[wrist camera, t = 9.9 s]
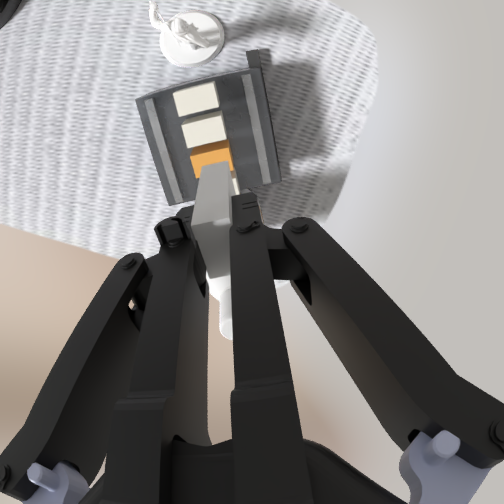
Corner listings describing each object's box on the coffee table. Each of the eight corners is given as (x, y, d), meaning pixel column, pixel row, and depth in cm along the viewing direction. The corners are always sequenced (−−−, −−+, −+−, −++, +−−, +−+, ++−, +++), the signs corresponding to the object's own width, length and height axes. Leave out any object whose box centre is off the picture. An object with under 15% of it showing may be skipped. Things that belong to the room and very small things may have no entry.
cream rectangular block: (178, 90, 25) (172, 93, 23) (214, 80, 25) (213, 82, 23) (183, 111, 26) (178, 116, 24) (219, 102, 26) (218, 107, 24)
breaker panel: (149, 92, 30) (133, 100, 25) (254, 67, 29) (260, 68, 24) (177, 184, 37) (168, 208, 32) (272, 163, 36) (281, 184, 31)
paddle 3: (193, 147, 29) (189, 156, 26) (228, 139, 28) (228, 147, 26) (198, 167, 30) (196, 178, 27) (233, 159, 30) (233, 170, 27)
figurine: (237, 28, 27) (241, 11, 17) (200, 78, 30) (186, 86, 20) (182, -1, 24) (160, -28, 14) (147, 50, 27) (109, 48, 17)
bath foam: (271, 203, 40) (302, 321, 23) (238, 240, 42) (247, 364, 26) (227, 173, 37) (227, 282, 20) (195, 214, 40) (177, 336, 23)
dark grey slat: (245, 51, 28) (246, 51, 27) (256, 49, 28) (257, 49, 27) (270, 179, 38) (271, 182, 37) (280, 177, 37) (281, 181, 37)
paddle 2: (185, 119, 27) (181, 125, 24) (221, 110, 27) (221, 115, 24) (191, 139, 28) (187, 148, 26) (226, 131, 28) (226, 139, 26)
